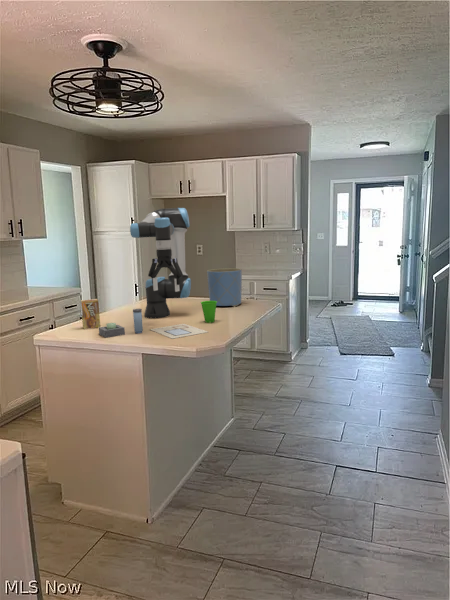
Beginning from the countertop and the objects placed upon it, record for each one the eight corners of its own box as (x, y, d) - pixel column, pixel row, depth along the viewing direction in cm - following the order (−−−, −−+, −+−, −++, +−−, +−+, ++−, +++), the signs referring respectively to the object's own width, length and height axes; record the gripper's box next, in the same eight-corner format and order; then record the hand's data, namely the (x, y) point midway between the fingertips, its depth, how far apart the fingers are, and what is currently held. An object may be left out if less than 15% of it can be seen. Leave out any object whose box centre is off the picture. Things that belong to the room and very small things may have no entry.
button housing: (99, 334, 233) (98, 327, 233) (118, 331, 238) (117, 324, 238) (105, 337, 225) (104, 330, 224) (125, 334, 230) (124, 327, 230)
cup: (215, 323, 248) (215, 303, 246) (199, 323, 250) (198, 303, 248) (219, 319, 257) (218, 300, 255) (203, 319, 258) (202, 300, 257)
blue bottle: (133, 332, 234) (131, 309, 232) (141, 331, 236) (139, 308, 234) (136, 334, 230) (134, 310, 228) (144, 332, 232) (142, 309, 230)
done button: (105, 331, 232) (105, 323, 231) (114, 330, 235) (113, 322, 234) (108, 332, 228) (108, 325, 228) (117, 331, 231) (117, 323, 230)
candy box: (99, 325, 254) (96, 298, 251) (100, 327, 250) (98, 299, 248) (82, 328, 250) (80, 300, 248) (84, 329, 246) (81, 301, 244)
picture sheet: (149, 329, 238) (149, 329, 238) (183, 324, 249) (183, 323, 249) (172, 338, 217) (172, 338, 217) (208, 332, 227) (208, 331, 227)
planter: (205, 308, 296) (203, 272, 292) (212, 302, 318) (210, 268, 314) (240, 307, 292) (239, 271, 288) (244, 301, 314) (243, 267, 310)
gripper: (139, 249, 232) (142, 291, 236) (180, 249, 220) (182, 292, 223) (149, 248, 239) (151, 289, 242) (188, 248, 226) (190, 290, 230)
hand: (166, 290), depth 233 cm, fingers open, 13 cm apart
